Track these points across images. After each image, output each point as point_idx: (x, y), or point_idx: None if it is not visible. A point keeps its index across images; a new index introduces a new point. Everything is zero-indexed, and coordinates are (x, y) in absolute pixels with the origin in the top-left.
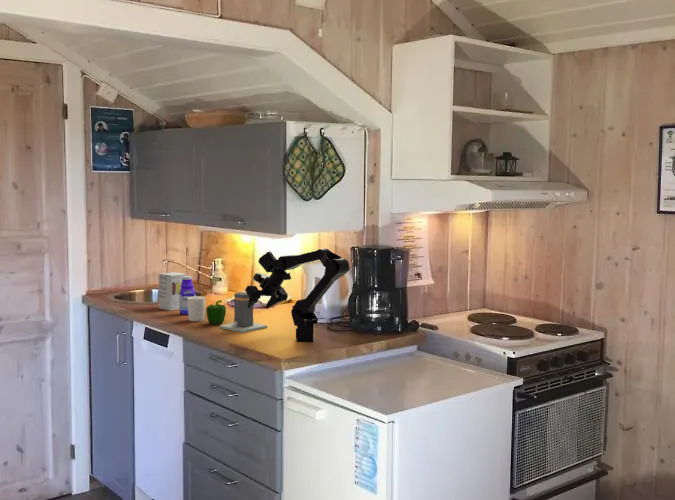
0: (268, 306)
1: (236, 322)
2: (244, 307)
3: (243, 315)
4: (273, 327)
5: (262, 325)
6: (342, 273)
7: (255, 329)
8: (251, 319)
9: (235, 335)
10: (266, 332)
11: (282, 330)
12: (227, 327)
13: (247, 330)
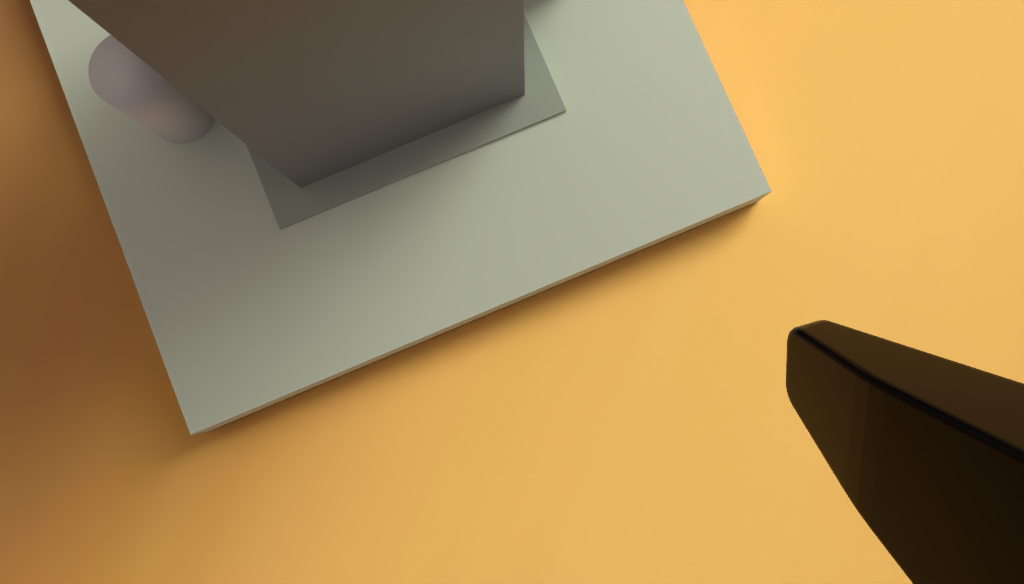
0: (872, 504)
1: (141, 113)
2: (147, 19)
3: (214, 115)
4: (871, 223)
5: (683, 170)
6: None
7: (486, 312)
8: (481, 65)
9: (7, 573)
10: (593, 570)
11: None
12: (55, 63)
13: (298, 389)
